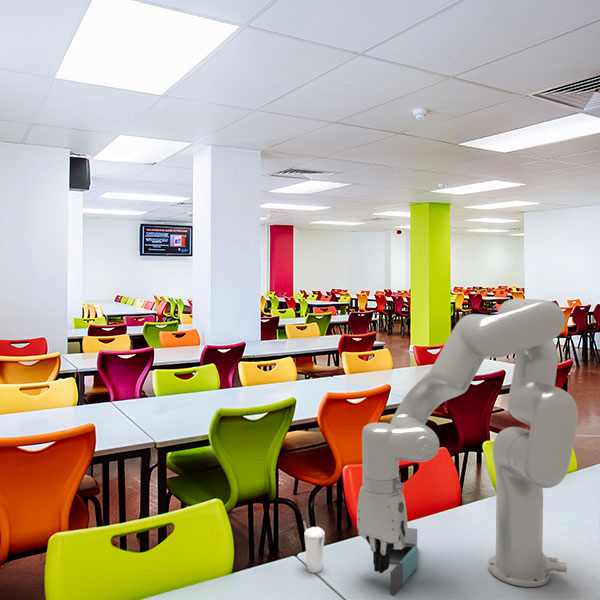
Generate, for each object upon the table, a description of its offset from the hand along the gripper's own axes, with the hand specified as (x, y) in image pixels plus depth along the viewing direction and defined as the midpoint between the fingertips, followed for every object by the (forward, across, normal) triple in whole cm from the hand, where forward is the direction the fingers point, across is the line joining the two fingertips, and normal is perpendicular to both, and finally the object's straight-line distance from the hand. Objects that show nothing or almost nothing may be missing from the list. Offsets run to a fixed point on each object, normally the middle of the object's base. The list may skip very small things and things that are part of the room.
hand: (381, 569), depth 115 cm
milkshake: (+3, +15, +4) cm, 16 cm away
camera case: (+3, +3, -13) cm, 14 cm away
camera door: (+3, -3, -5) cm, 6 cm away
